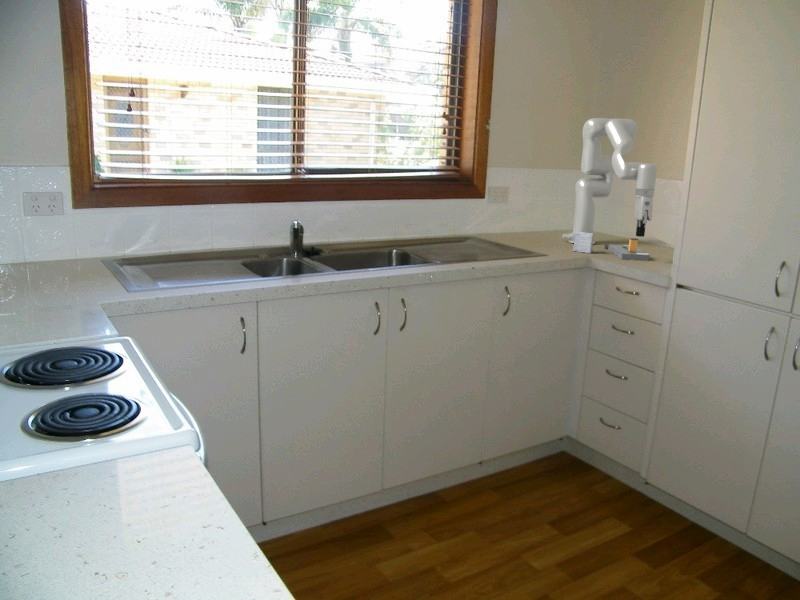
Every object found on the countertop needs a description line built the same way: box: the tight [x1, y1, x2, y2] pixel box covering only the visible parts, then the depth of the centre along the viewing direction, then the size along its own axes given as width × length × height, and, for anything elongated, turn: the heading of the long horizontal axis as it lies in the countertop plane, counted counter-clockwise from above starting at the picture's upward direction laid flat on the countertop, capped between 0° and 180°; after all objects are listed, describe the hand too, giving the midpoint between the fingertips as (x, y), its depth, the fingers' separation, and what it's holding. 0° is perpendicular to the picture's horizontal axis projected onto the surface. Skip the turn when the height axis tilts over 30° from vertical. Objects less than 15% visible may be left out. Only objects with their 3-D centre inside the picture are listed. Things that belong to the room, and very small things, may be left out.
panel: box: [607, 244, 651, 261], centre depth 318 cm, size 12×24×3 cm, turn 178°
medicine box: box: [572, 232, 595, 254], centre depth 319 cm, size 8×4×9 cm, turn 65°
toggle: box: [628, 237, 639, 253], centre depth 311 cm, size 3×2×8 cm
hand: (639, 236), depth 302 cm, fingers closed
